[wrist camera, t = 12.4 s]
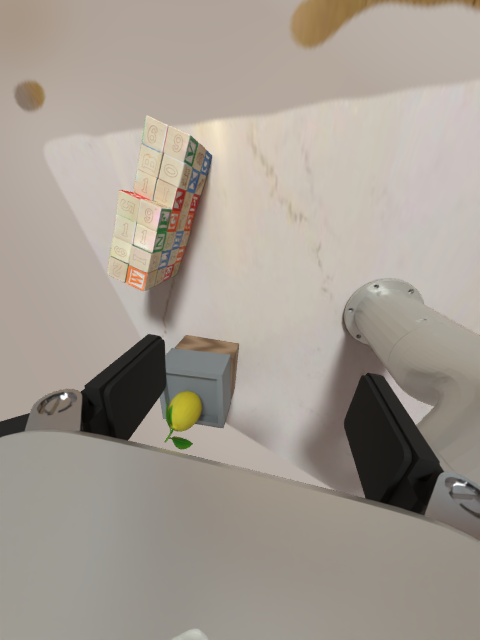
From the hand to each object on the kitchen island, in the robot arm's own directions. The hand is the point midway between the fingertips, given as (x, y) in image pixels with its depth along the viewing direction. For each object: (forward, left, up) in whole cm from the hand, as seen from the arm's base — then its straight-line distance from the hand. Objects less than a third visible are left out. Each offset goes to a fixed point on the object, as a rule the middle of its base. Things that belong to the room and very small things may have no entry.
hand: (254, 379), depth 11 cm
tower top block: (+11, +23, -28) cm, 38 cm away
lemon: (+11, +23, -23) cm, 34 cm away
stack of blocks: (+19, -7, -34) cm, 39 cm away
